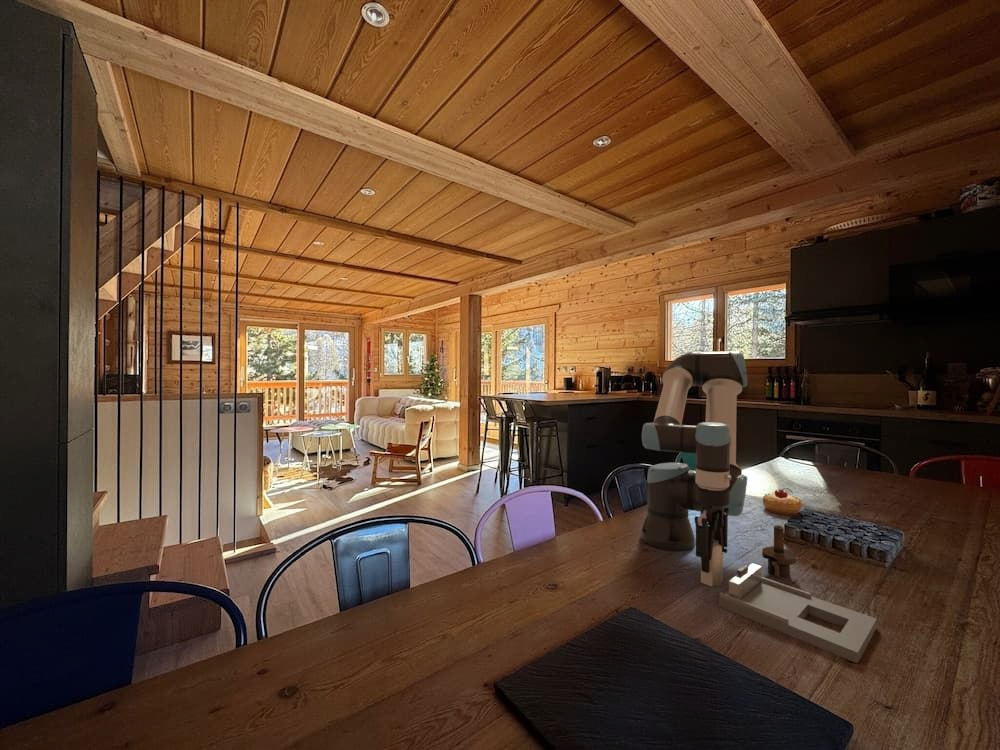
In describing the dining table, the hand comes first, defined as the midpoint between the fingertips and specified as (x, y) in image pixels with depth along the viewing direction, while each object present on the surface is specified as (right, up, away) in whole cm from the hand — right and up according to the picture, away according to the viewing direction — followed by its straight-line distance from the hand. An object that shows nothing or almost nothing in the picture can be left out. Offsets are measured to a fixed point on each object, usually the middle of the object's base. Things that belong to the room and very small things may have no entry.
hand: (711, 580), depth 106 cm
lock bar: (+4, +2, -8) cm, 9 cm away
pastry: (+51, +1, +52) cm, 72 cm away
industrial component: (+18, 0, +4) cm, 19 cm away
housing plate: (+10, 0, -15) cm, 18 cm away
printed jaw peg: (0, 0, 0) cm, 0 cm away
